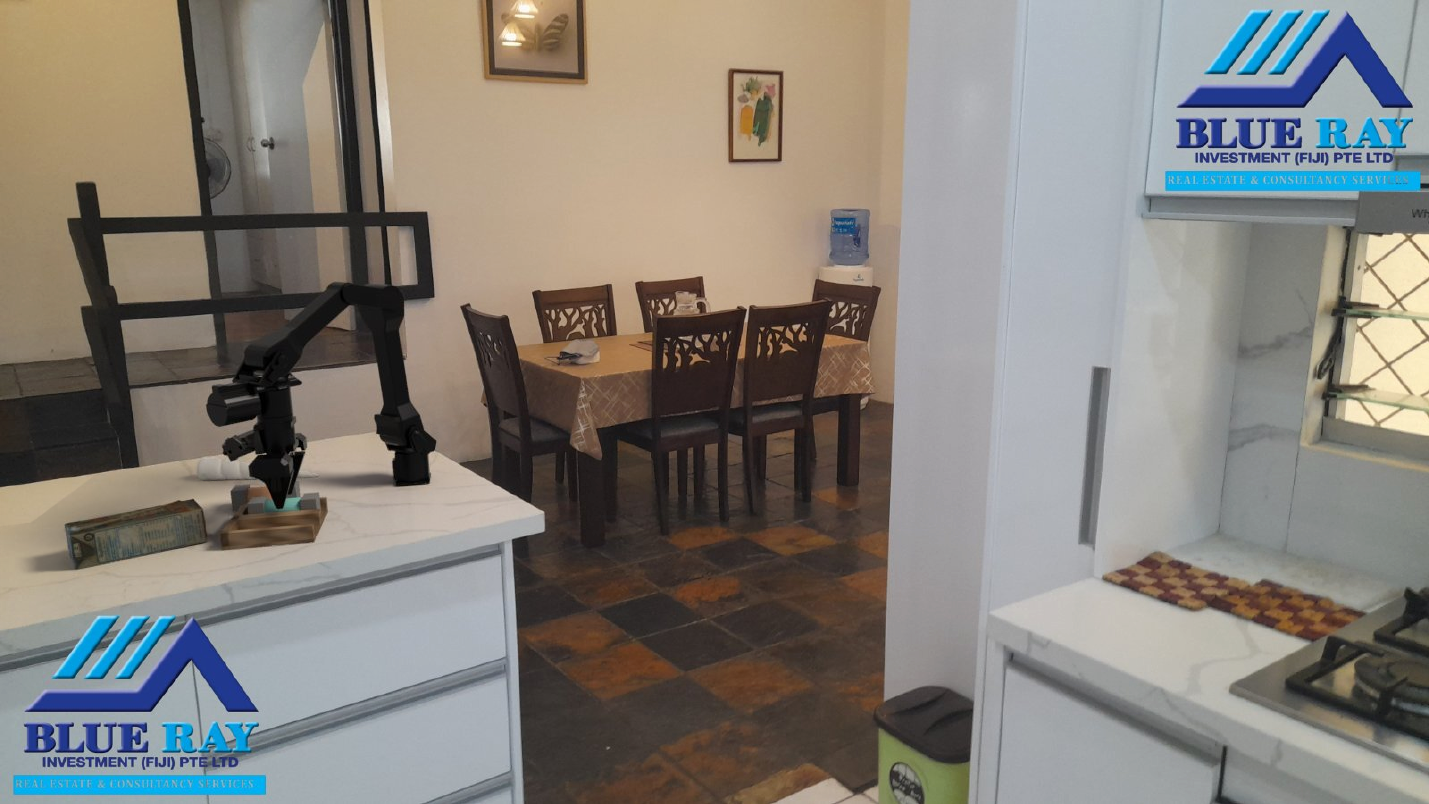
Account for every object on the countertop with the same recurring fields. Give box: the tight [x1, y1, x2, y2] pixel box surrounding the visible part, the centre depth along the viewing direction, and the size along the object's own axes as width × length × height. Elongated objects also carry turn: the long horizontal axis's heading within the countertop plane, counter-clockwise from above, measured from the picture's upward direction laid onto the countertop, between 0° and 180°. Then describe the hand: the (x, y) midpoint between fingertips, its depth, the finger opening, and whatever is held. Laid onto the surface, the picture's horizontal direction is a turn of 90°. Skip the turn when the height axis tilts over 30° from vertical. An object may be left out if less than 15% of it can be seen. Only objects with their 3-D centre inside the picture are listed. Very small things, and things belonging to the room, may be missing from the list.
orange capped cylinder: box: [230, 480, 302, 512], centre depth 177 cm, size 11×4×4 cm, turn 104°
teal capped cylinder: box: [247, 492, 321, 515], centre depth 168 cm, size 11×4×4 cm, turn 104°
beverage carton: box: [64, 498, 208, 571], centre depth 156 cm, size 8×19×7 cm, turn 129°
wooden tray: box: [219, 496, 329, 551], centre depth 164 cm, size 14×16×3 cm
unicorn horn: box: [196, 455, 320, 481], centre depth 194 cm, size 5×24×5 cm, turn 88°
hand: (284, 501), depth 168 cm, fingers open, 8 cm apart
